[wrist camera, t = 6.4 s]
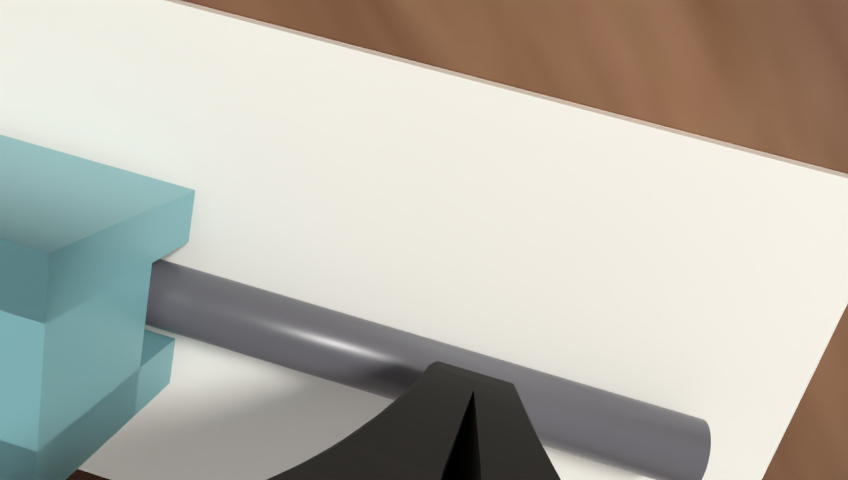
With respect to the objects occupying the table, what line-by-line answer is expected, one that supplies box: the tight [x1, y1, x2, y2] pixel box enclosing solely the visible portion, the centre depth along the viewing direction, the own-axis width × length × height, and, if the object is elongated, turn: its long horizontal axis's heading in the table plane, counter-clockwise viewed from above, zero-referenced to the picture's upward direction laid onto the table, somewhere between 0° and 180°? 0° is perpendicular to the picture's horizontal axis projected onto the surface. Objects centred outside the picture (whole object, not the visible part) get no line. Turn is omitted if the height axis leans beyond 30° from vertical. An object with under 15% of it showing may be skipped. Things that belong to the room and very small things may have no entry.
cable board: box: [0, 0, 848, 480], centre depth 12 cm, size 10×24×4 cm, turn 76°
